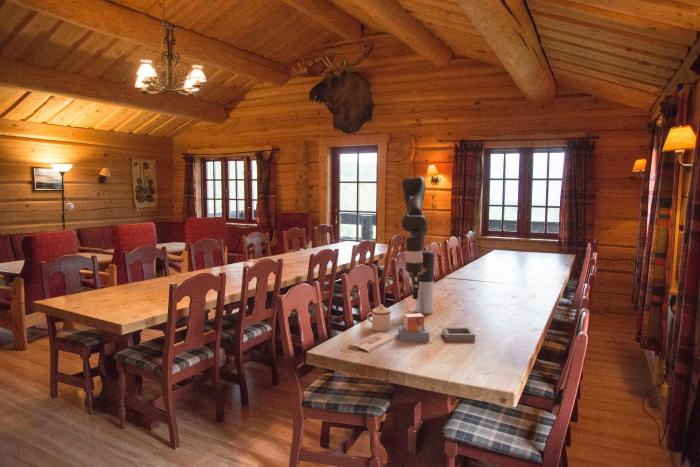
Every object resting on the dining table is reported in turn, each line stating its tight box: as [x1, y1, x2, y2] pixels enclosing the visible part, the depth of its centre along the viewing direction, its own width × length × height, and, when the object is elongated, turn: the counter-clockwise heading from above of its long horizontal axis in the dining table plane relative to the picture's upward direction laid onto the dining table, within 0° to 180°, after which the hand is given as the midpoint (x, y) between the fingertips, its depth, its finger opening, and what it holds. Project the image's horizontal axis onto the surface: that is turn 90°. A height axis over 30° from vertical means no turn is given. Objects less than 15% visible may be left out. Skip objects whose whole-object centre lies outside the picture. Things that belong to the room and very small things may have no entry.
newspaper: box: [348, 331, 397, 353], centre depth 206 cm, size 23×12×2 cm, turn 143°
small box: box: [403, 312, 425, 332], centre depth 211 cm, size 8×6×10 cm
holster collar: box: [441, 326, 476, 342], centre depth 211 cm, size 10×12×3 cm
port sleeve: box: [398, 324, 430, 343], centre depth 211 cm, size 10×12×4 cm
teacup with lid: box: [366, 304, 392, 332], centre depth 225 cm, size 12×9×12 cm
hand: (414, 296), depth 209 cm, fingers open, 8 cm apart
